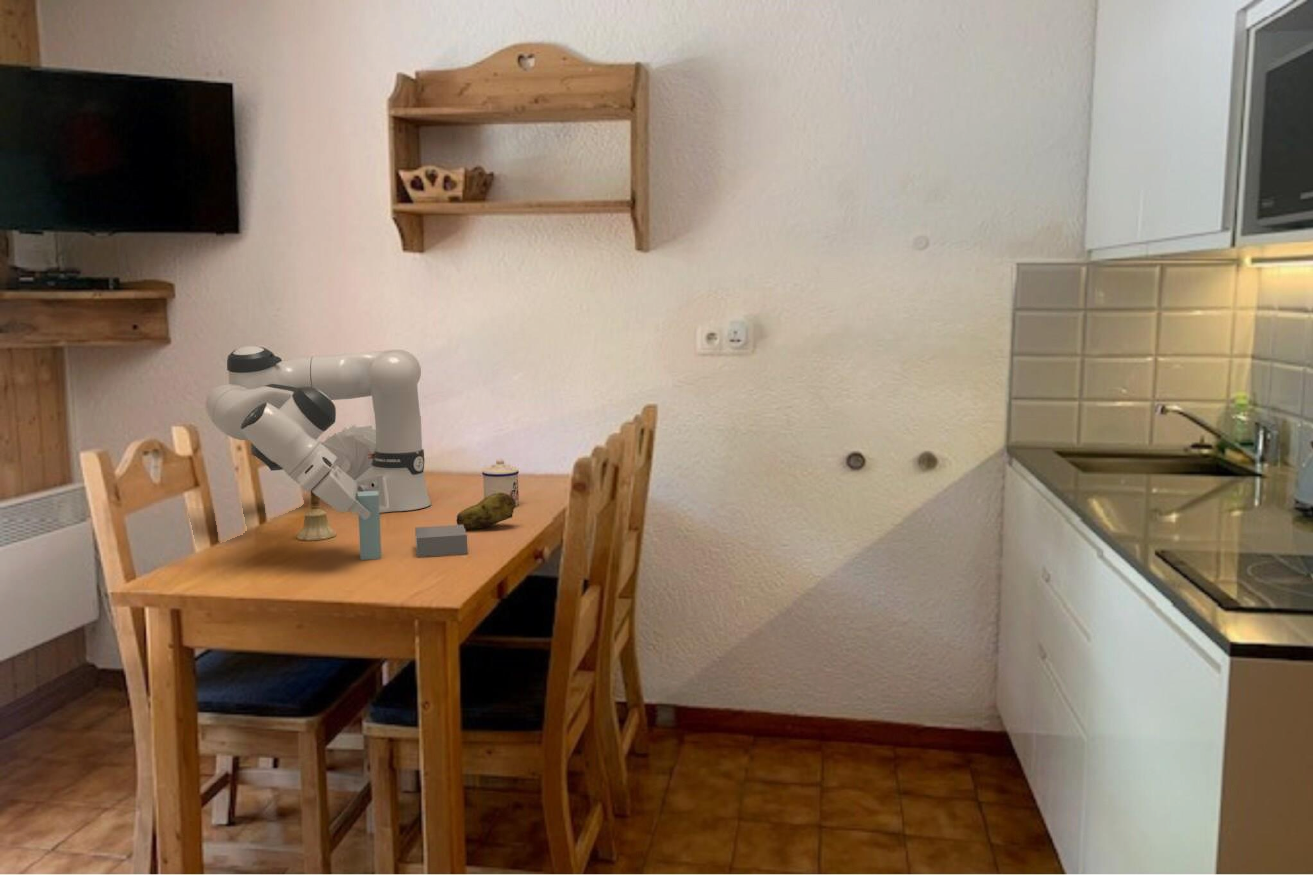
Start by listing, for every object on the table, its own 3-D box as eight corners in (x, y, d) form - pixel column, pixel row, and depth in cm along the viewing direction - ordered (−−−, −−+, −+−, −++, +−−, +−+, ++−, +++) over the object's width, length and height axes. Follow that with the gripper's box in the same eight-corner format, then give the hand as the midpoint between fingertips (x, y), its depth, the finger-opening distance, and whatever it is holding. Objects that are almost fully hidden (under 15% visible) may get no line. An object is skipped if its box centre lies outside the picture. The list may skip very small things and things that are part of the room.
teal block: (360, 559, 210) (357, 496, 208) (361, 553, 214) (358, 491, 212) (381, 558, 210) (378, 495, 209) (381, 552, 215) (378, 490, 213)
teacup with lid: (518, 508, 258) (516, 462, 256) (481, 509, 258) (479, 463, 256) (522, 499, 270) (521, 455, 268) (486, 500, 269) (485, 455, 268)
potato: (463, 524, 242) (462, 490, 240) (518, 524, 241) (517, 490, 240) (454, 532, 233) (453, 497, 232) (511, 532, 233) (510, 497, 232)
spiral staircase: (382, 497, 295) (360, 511, 271) (325, 471, 294) (297, 482, 269) (409, 439, 294) (389, 447, 269) (351, 412, 293) (326, 418, 268)
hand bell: (302, 532, 234) (298, 462, 232) (339, 531, 235) (336, 461, 233) (292, 541, 226) (288, 468, 224) (331, 540, 227) (328, 468, 224)
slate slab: (417, 557, 211) (416, 538, 210) (415, 546, 221) (415, 527, 220) (467, 553, 214) (466, 534, 213) (463, 542, 223) (463, 524, 223)
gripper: (307, 471, 217) (358, 514, 221) (300, 488, 197) (356, 535, 201) (329, 449, 218) (379, 492, 221) (323, 464, 198) (379, 511, 202)
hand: (368, 513), depth 211 cm, fingers closed on teal block, 5 cm apart
